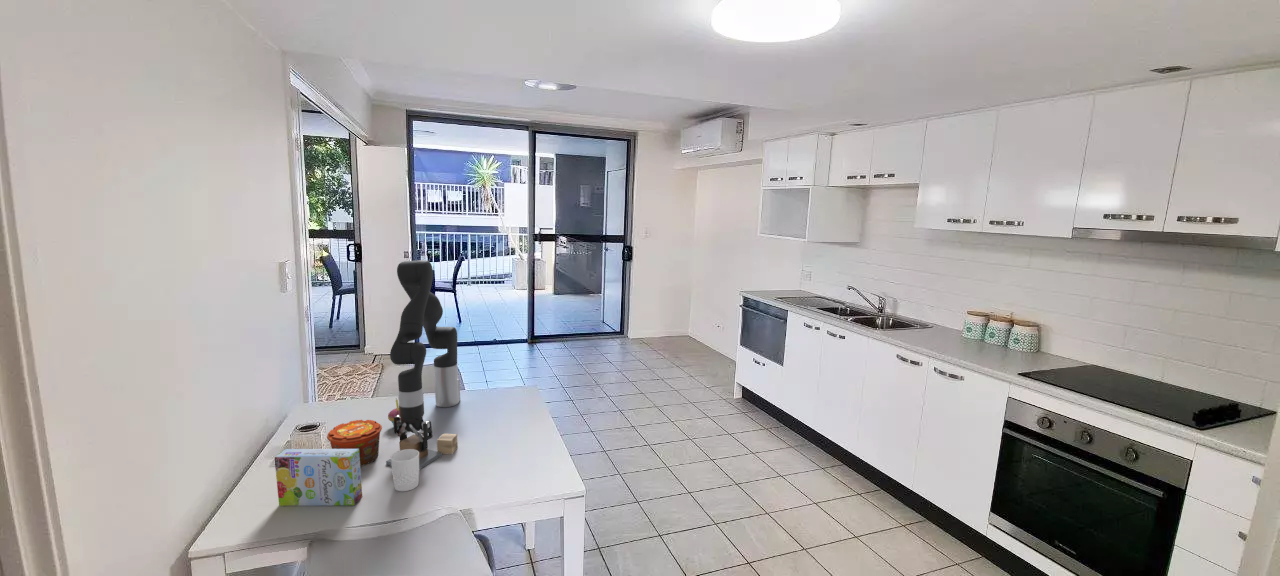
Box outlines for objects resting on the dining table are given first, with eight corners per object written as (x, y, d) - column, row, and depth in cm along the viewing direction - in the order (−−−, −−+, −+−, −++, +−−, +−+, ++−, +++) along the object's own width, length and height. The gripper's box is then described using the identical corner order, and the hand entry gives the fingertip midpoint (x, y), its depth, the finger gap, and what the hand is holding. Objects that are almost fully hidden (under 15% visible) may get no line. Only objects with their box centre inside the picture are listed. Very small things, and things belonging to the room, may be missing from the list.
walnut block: (414, 451, 181) (413, 434, 180) (428, 454, 179) (427, 437, 178) (400, 458, 175) (399, 441, 174) (414, 462, 173) (413, 445, 172)
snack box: (363, 495, 156) (360, 447, 153) (354, 506, 150) (350, 456, 148) (289, 495, 155) (285, 447, 153) (277, 506, 150) (272, 456, 147)
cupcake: (406, 431, 199) (404, 400, 197) (384, 430, 199) (381, 400, 197) (416, 421, 207) (415, 392, 205) (395, 421, 207) (393, 391, 205)
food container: (361, 473, 168) (358, 441, 167) (317, 467, 171) (314, 436, 170) (393, 450, 184) (392, 421, 182) (353, 445, 187) (351, 416, 185)
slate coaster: (414, 448, 185) (414, 445, 185) (441, 455, 180) (441, 452, 180) (386, 464, 174) (386, 461, 174) (414, 472, 170) (414, 468, 169)
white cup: (412, 476, 167) (411, 446, 165) (425, 485, 162) (424, 454, 161) (387, 486, 161) (385, 455, 159) (400, 495, 156) (398, 464, 155)
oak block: (443, 447, 187) (442, 433, 186) (457, 447, 187) (457, 434, 186) (437, 453, 182) (437, 440, 181) (452, 454, 182) (451, 440, 181)
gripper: (436, 401, 175) (438, 447, 177) (403, 394, 180) (406, 439, 183) (419, 409, 168) (421, 457, 170) (385, 402, 173) (388, 449, 176)
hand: (413, 448), depth 177 cm, fingers open, 8 cm apart
